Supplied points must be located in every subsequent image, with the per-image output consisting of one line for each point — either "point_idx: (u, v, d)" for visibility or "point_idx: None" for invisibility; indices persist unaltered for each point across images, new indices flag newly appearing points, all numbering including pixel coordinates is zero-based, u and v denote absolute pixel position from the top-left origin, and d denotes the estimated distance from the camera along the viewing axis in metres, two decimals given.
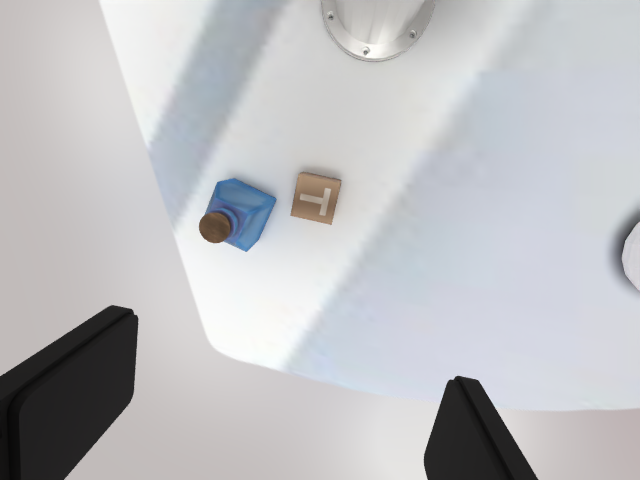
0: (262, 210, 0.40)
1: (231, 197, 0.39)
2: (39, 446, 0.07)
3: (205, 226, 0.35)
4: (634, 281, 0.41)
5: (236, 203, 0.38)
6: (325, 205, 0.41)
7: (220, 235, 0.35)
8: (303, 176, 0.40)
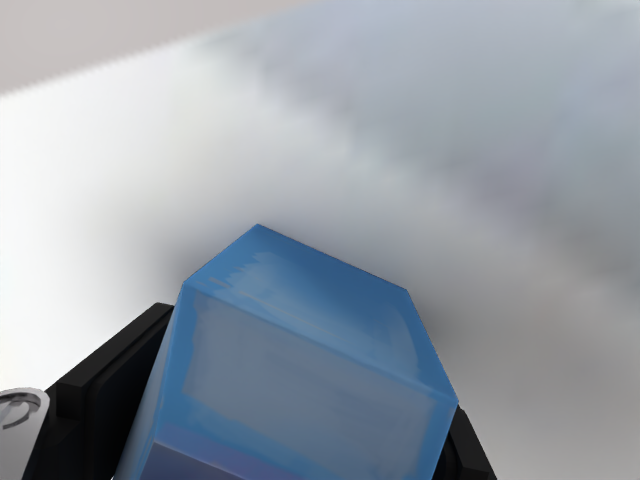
0: None
1: None
2: (107, 431, 0.08)
3: None
4: None
5: None
6: None
7: None
8: None
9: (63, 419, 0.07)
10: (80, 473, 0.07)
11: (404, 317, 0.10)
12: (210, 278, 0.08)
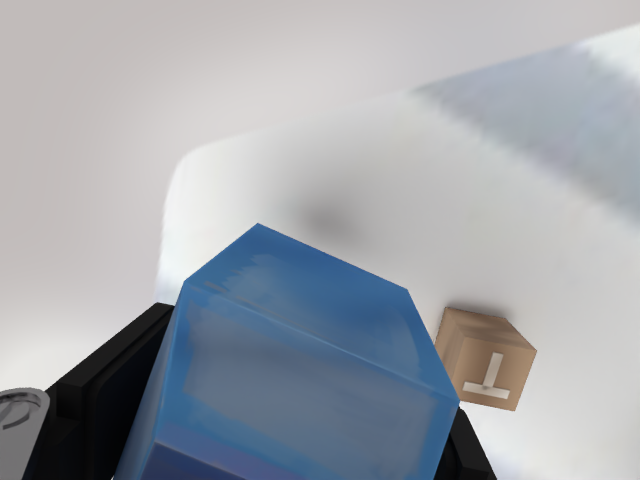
0: None
1: None
2: (107, 431, 0.08)
3: None
4: None
5: None
6: (480, 389, 0.25)
7: None
8: (531, 358, 0.24)
9: (63, 419, 0.07)
10: (80, 473, 0.07)
11: (405, 316, 0.10)
12: (211, 277, 0.08)
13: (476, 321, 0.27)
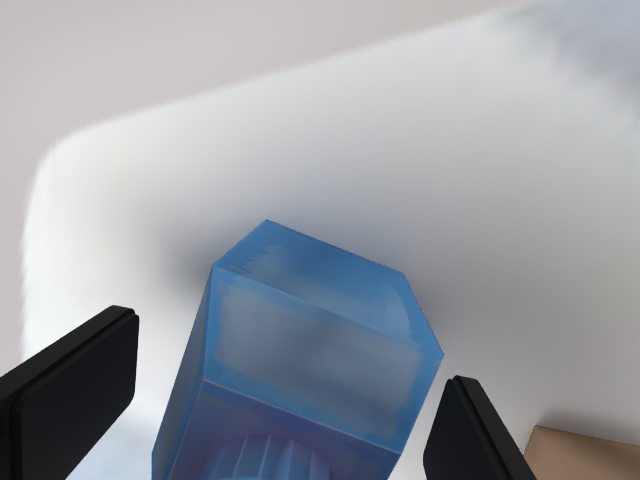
0: None
1: None
2: (41, 445, 0.07)
3: None
4: None
5: None
6: None
7: None
8: None
9: None
10: None
11: (400, 293, 0.12)
12: (233, 262, 0.09)
13: (604, 467, 0.14)
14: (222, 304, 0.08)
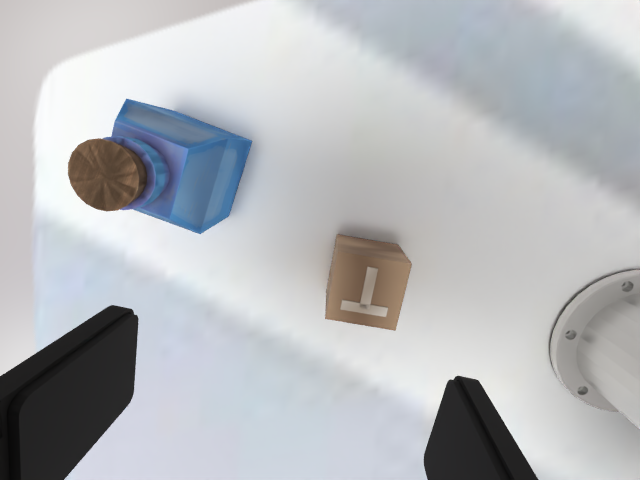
0: (188, 229, 0.21)
1: (200, 176, 0.20)
2: (39, 446, 0.07)
3: (101, 154, 0.15)
4: None
5: (187, 189, 0.19)
6: (358, 308, 0.24)
7: (90, 190, 0.15)
8: (407, 272, 0.23)
9: None
10: None
11: (234, 136, 0.24)
12: (137, 102, 0.21)
13: (362, 243, 0.26)
14: (127, 108, 0.19)
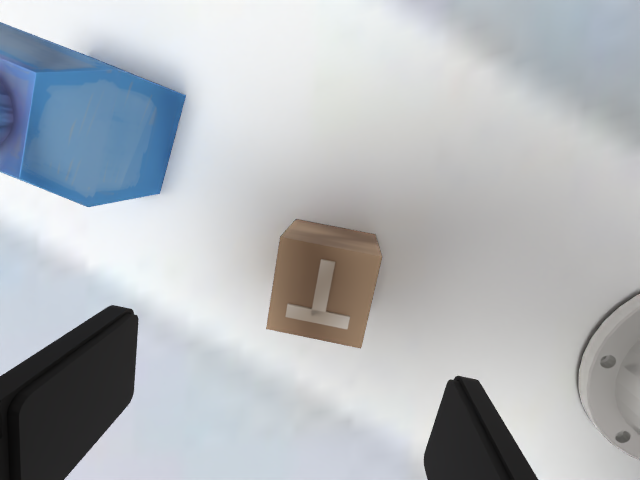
0: (69, 199, 0.16)
1: (70, 120, 0.14)
2: (39, 446, 0.07)
3: None
4: None
5: (46, 136, 0.13)
6: (310, 316, 0.18)
7: None
8: (376, 267, 0.17)
9: None
10: None
11: (149, 81, 0.18)
12: (0, 22, 0.15)
13: (324, 230, 0.20)
14: None
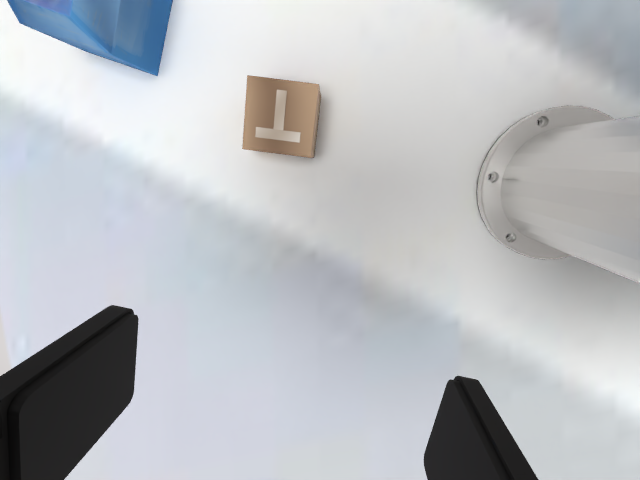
0: (98, 47, 0.23)
1: None
2: (39, 446, 0.07)
3: None
4: None
5: None
6: (273, 135, 0.25)
7: None
8: (315, 93, 0.24)
9: None
10: None
11: None
12: None
13: None
14: None
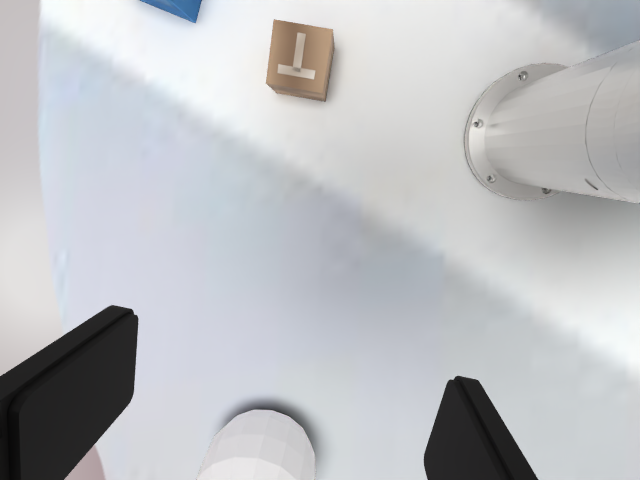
0: None
1: None
2: (39, 446, 0.07)
3: None
4: (230, 424, 0.40)
5: None
6: (292, 72, 0.30)
7: None
8: (329, 37, 0.29)
9: None
10: None
11: None
12: None
13: None
14: None
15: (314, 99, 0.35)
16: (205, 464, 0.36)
